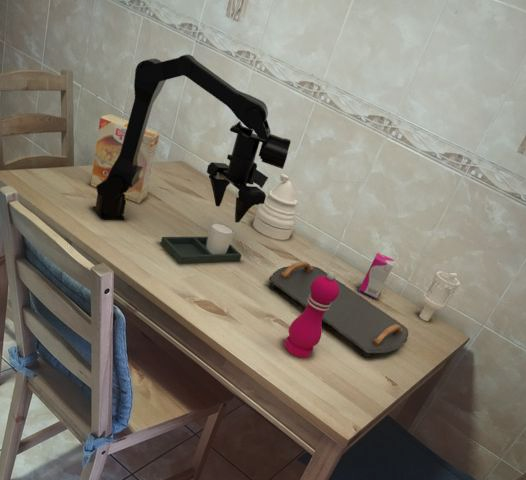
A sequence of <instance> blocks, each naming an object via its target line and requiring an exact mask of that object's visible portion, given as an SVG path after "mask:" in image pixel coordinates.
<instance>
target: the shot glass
mask: <svg viewBox="0 0 526 480" xmlns="http://www.w3.org/2000/svg"><path fill="white" fill-rule="evenodd" d="M234 235H235V230H234V229H233V228H232V227H231V226H229V225H227V224H225V223H221V222H211V223H210V224H209V228H208V234H207V237H208V238H207V244H206V248H207V249H208V250H209V251H210V252H211V253H212V254H226V252H227V250H228V247H229V245H231V243H232V240H233V238H234Z"/></svg>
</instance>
